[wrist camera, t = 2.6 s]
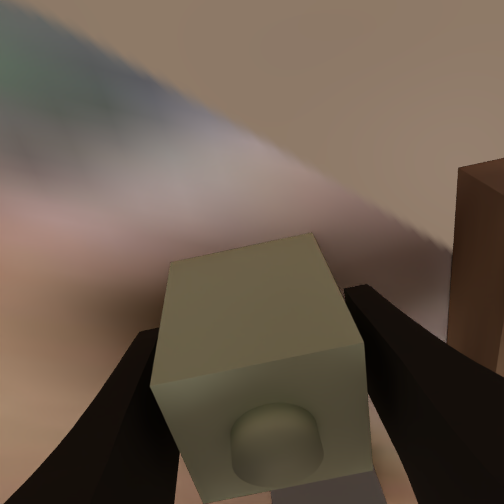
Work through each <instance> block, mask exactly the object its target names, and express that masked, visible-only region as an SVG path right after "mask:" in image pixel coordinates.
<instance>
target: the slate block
mask: <svg viewBox="0 0 504 504" xmlns="http://www.w3.org/2000/svg"><path fill="white" fill-rule="evenodd" d="M271 498H272V504H387V502H386V499H385V497H384V494H383V491H382V488H381V486H380V483H379V480H378V477H377V475H376V472H375V469H374V466H373V471H367V472H362V473H357V474H352V475H347V476H342V477H337V478H332V479H327V480H322V481H317V482H312V483H307V484H302V485H297V486H292V487H287V488H282V489H277V490H272V491H271Z"/></svg>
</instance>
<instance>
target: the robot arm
mask: <svg viewBox="0 0 504 504" xmlns="http://www.w3.org/2000/svg"><path fill="white" fill-rule="evenodd" d="M344 293H345V303H346V305H347V308H348V310H349V312H350V314H351V316H352V318H353V320H354V322H355V324H356V327H357V329H358V331H359V333H360V335H361V337H362V339H363V341H364V350H365V364H366V378H367V392H368V394H369V396H370V398H371V400H372V402H373V404H374V406H375V408H376V410H377V412H378V414H379V417H380V419H381V421H382V423H383V425H384V427H385V429H386V431H387V433H388V435H389V437H390V439H391V441H392V443H393V445H394V447H395V449H396V451H397V453H398V455H399V457H400V460H401V462H402V464H403V466H404V469H405V471H406V473H407V475H408V478H409V481H410V483H411V486H412V488H413V491H414V494H415V496H416V499H417V502H418V504H504V377H502V376H501V375H499V374H497V373H495V372H493V371H492V370H490V369H488V368H486V367H484V366H482V365H481V364H479V363H477V362H475V361H473V360H472V359H470V358H469V357H467V356H465V355H464V354H462V353H460V352H459V351H457V350H456V349H454V348H453V347H451V346H450V345H448V344H446V343H445V342H443V341H442V340H440V339H439V338H437V337H436V336H435V335H433V334H432V333H430V332H429V331H427V330H426V329H425V328H423V327H422V326H421V325H419V324H418V323H416V322H415V321H414V320H412V319H411V318H410V317H408V316H407V315H406V314H404V313H403V312H402V311H400V310H399V309H398V308H397V307H395V306H394V305H393V304H392V303H390V302H389V301H388V300H387V299H385V298H384V297H383V296H382V295H380V294H379V293H378V292H377V291H376V290H374V289H373V288H372V287H371V286H369V285H368V284H365V285H360V286H355V287H350V288H345V289H344ZM159 329H160V328H155V329H150V330H146V331H141V332H139V333H138V335H137V336H136V338H135V339H134V341H133V342H132V344H131V345H130V347H129V348H128V350H127V351H126V353H125V354H124V356H123V357H122V359H121V360H120V362H119V363H118V365H117V366H116V368H115V369H114V371H113V373H112V374H111V375H110V377H109V378H108V380H107V381H106V383H105V384H104V386H103V387H102V389H101V390H100V391H99V393H98V394H97V396H96V397H95V399H94V400H93V401H92V403H91V404H90V405H89V407H88V408H87V409H86V411H85V412H84V413H83V415H82V416H81V417H80V419H79V420H78V421H77V423H76V424H75V425H74V427H73V428H72V429H71V430H70V432H69V433H68V434H67V435H66V437H65V438H64V439H63V440H62V441H61V443H60V444H59V445H58V446H57V447H56V449H55V450H54V451H53V452H52V453H51V454H50V455H49V456H48V458H47V459H46V460H45V461H44V462H43V463H42V464H41V466H40V467H39V468H38V469H37V470H36V471H35V472H34V473H33V474H32V475H31V476H30V477H29V478H28V480H27V481H26V482H25V483H24V484H23V485H22V486H21V487H20V488H19V489H18V490H17V491H16V492H15V493H14V494H13V495H12V496H11V497H10V498H9V499H8V500H7V501H6V502H5V503H4V504H174V500H175V491H176V482H177V473H178V464H179V455H180V451H179V449H178V447H177V445H176V442H175V440H174V438H173V436H172V434H171V432H170V429H169V427H168V425H167V423H166V421H165V418H164V416H163V414H162V412H161V410H160V407H159V405H158V403H157V401H156V399H155V396H154V394H153V392H152V390H151V388H150V382H151V376H152V370H153V364H154V358H155V353H156V347H157V341H158V335H159Z"/></svg>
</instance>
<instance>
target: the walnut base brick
mask: <svg viewBox="0 0 504 504" xmlns="http://www.w3.org/2000/svg"><path fill="white" fill-rule="evenodd" d="M447 344H448V345H450V346H451V347H453V348H454V349H456V350H457V351H459V352H460V353H462V354H464V355H465V356H467V357H469V358H470V359H472V360H473V361H475V362H477V363H479V364H481V365H482V366H484V367H486V368H488V369H490V370H492V371H493V372H495V373H497V374H499V375H501V376H502V377H504V158H501V159H497V160H492V161H487V162H483V163H478V164H474V165H469V166H464V167H460V168H458V180H457V197H456V212H455V228H454V243H453V259H452V274H451V290H450V306H449V321H448V337H447Z"/></svg>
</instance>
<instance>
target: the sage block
mask: <svg viewBox="0 0 504 504" xmlns="http://www.w3.org/2000/svg"><path fill="white" fill-rule="evenodd" d="M150 388H151V390H152V392H153V394H154V396H155V399H156V401H157V403H158V405H159V407H160V410H161V412H162V414H163V416H164V418H165V421H166V423H167V425H168V427H169V429H170V432H171V434H172V436H173V438H174V440H175V442H176V445H177V447H178V449H179V451H180V453H181V456H182V458H183V460H184V462H185V464H186V467H187V469H188V471H189V473H190V475H191V478H192V480H193V482H194V484H195V486H196V489H197V491H198V493H199V495H200V497H201V499H202V502H203V504H206V503H211V502H216V501H221V500H226V499H231V498H236V497H242V496H247V495H252V494H257V493H262V492H267V491H272V490H277V489H282V488H287V487H292V486H297V485H302V484H307V483H312V482H317V481H322V480H327V479H332V478H337V477H342V476H347V475H352V474H357V473H362V472H367V471H373V462H372V448H371V434H370V420H369V406H368V392H367V378H366V364H365V350H364V341H363V339H362V337H361V335H360V333H359V331H358V329H357V327H356V324H355V322H354V320H353V318H352V316H351V314H350V312H349V310H348V308H347V305H346V303H345V301H344V299H343V297H342V295H341V293H340V291H339V289H338V286H337V284H336V282H335V280H334V278H333V276H332V274H331V272H330V269H329V267H328V265H327V263H326V261H325V259H324V257H323V255H322V253H321V250H320V248H319V246H318V244H317V242H316V240H315V238H314V236H313V234H312V233H307V234H302V235H298V236H293V237H288V238H284V239H279V240H274V241H269V242H265V243H260V244H255V245H250V246H246V247H241V248H236V249H231V250H227V251H222V252H217V253H213V254H208V255H203V256H198V257H194V258H189V259H184V260H179V261H175V262H171V263H170V269H169V275H168V281H167V287H166V293H165V299H164V305H163V311H162V317H161V323H160V329H159V335H158V341H157V347H156V353H155V358H154V364H153V370H152V376H151V382H150Z"/></svg>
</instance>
